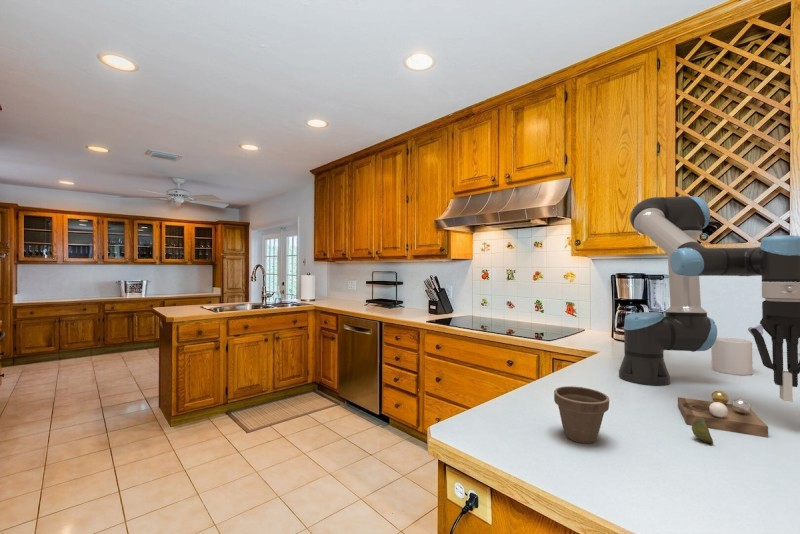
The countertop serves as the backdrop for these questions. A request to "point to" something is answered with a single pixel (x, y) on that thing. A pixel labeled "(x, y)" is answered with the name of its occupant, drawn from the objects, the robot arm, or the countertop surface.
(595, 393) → the flower pot
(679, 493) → the countertop surface
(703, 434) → the lime
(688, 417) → the board
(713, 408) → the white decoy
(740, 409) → the steel ball
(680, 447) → the countertop surface
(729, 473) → the countertop surface
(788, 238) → the robot arm
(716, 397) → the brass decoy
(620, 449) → the countertop surface
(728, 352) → the cup
